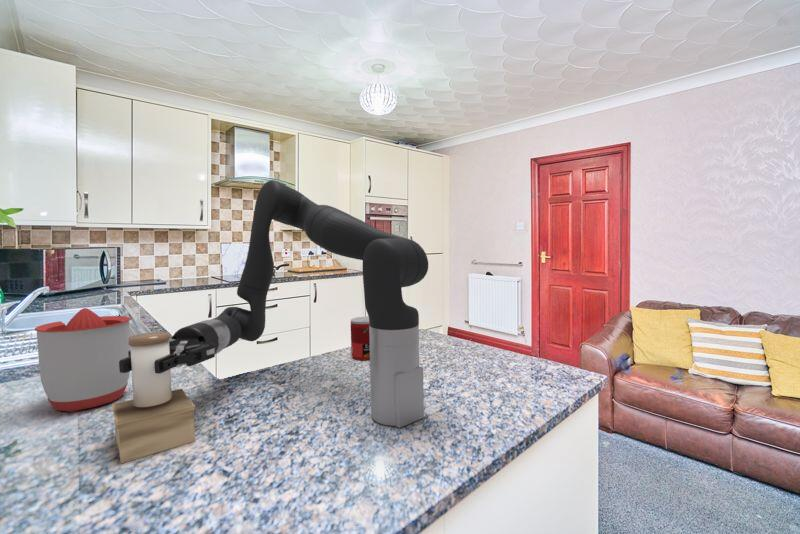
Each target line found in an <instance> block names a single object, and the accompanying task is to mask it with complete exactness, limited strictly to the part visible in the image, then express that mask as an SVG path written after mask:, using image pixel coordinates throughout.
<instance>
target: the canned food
mask: <svg viewBox="0 0 800 534" xmlns="http://www.w3.org/2000/svg"><path fill="white" fill-rule="evenodd" d="M350 346H351V347H350V349H351V350H350V351H351V352H350V353H351V357H352V358H353V359H354V360H357V361H370V333H369V316H356V317H354V318H351V319H350Z"/></svg>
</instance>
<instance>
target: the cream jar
mask: <svg viewBox="0 0 800 534" xmlns="http://www.w3.org/2000/svg"><path fill="white" fill-rule="evenodd" d="M128 340H129V345H130V349H131V366H132V371H131V380H132V381H131V382H132V400H133V402H134V406H136V407H150V406H155V405H159V404H162V403H165V402H167V401H169V400H170V399H171V398H172V391H173V390H172V373H171V372H172V371H171V369H172V368H171V369H169V370H167V371H165V372H163V373H155V365H154V363H155V361H156V360H157V359H159V358H162V357H164V356H167V355H169V354H170V349H169V340H171V332H169V331H150V332H144V333H137V334H134V335H130V337H129V338H128Z"/></svg>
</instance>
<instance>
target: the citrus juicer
mask: <svg viewBox="0 0 800 534" xmlns="http://www.w3.org/2000/svg"><path fill="white" fill-rule="evenodd" d="M130 321H131V317H129V316H123V315H107V316H106V315H103V316H100V315H98V314H97V313H95V312H94V311H93V310H91V309H89V308H86V307H84V308H81V309H80V310H78V312H77V313H75V315H74V316H73V317H72V318H71V319H70V320H69V321H68V322H67V324H66V323H64V322H63V321H54V322H48V323H45V324H41V325H38V326H36V327H35V328H34V331H36V339H37V354H38V357H37V358H38V369H39V376H40V382H41V385H42V388H43V392H44V393H45V395H46V397H47V400H48V402H49V404H50V406H51V407H52V408H53V409H54V410H55V411H59V412H60V411H61V412H62V411H63V412H69V413H74V412H79V411H80V410H86V409H92V408H95V407H99V406H102V405H106V404H109V403H112V402H115V401H118V400H119V398H121V397H122V396H123V395H124V394H125V392H126V389H127V387H128V381H129V377H130V373H131V371H129V372H127V373H120V370H119V361H120V360H121V359H124V358H127V357H128V351H130V350H131V349H130V345H129V340H128V338H129V337H131V332H130V331H131V330H130V328H131V327H130Z"/></svg>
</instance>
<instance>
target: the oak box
mask: <svg viewBox="0 0 800 534" xmlns="http://www.w3.org/2000/svg"><path fill="white" fill-rule="evenodd" d="M111 409H112V412H113V417H114V428H115V429H114V432H115V442H116V447H117V451H118V455H119V461H120V464H124V463H128V462H131V461H133V460H137V459H141V458H144V457H147V456H150V455H153V454H157V453H161V452H164V451H167V450H170V449H174V448H177V447H180V446H183V445H186V444H189V443H193V442H196V439H195V437H196V436H195V435H196V434H195V418H194V417H195V416H194V410H196V406H195V404H194V403H193V401H192V400H191V399H190V398H189V396H188V395H187V393H186V392H185V391H184V390H183V388H178V389H175V390H172V398H171V399H170V400H169V401H167V402H165V403H162V404H159V405H155V406H150V407H136V406H134V402H133V399H130V400H125V401H121V402H120V401H119V402H115V403H112V407H111Z"/></svg>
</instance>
